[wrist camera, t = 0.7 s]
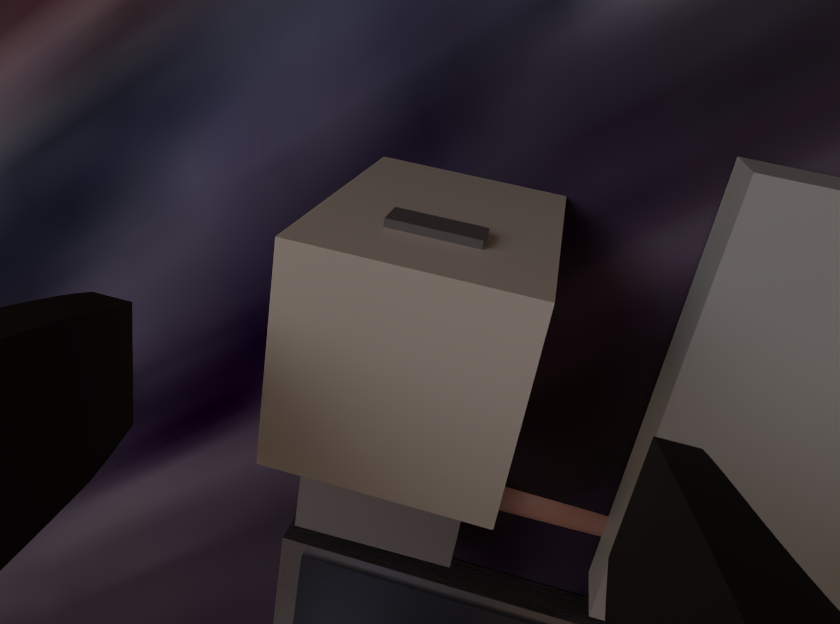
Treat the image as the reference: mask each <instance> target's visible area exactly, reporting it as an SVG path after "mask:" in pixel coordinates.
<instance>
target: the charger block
mask: <svg viewBox="0 0 840 624" xmlns="http://www.w3.org/2000/svg"><path fill="white" fill-rule="evenodd" d="M565 204H566V196H562V195H557V194H553V193H548V192H544V191H539V190H534V189H530V188H525V187H521V186H516V185H512V184H507V183H502V182H498V181H493V180H489V179H484V178H479V177H475V176H470V175H466V174H461V173H457V172H452V171H447V170H443V169H438V168H434V167H429V166H424V165H420V164H415V163H411V162H406V161H402V160H397V159H392V158H388V157H383V158H381V159H380V160H379V161H377V162H376V163H375V164H373V165H372V166H371V167H369V168H368V169H367V170H365V171H364V172H362V173H361V174H360V175H358V176H357V177H356V178H354V179H353V180H352V181H350V182H349V183H348V184H346V185H345V186H343V187H342V188H341V189H339V190H338V191H337V192H335V193H334V194H333V195H331V196H330V197H329V198H327V199H326V200H324V201H323V202H322V203H320V204H319V205H318V206H316V207H315V208H314V209H312V210H311V211H309V212H308V213H307V214H305V215H304V216H303V217H301V218H300V219H299V220H297V221H296V222H295V223H293V224H292V225H290V226H289V227H288V228H286V229H285V230H284V231H282V232H281V233H280V234H278V235H277V236H276V237H275V247H274V259H273V271H272V283H271V295H270V307H269V319H268V331H267V343H266V355H265V367H264V379H263V391H262V403H261V415H260V427H259V439H258V451H257V463H256V464H260V465H263V466H267V467H270V468H274V469H277V470H281V471H285V472H288V473H292V474H295V475H299V476H302V477H306V478H309V479H313V480H317V481H320V482H324V483H327V484H331V485H334V486H338V487H341V488H345V489H349V490H352V491H356V492H359V493H363V494H366V495H370V496H373V497H377V498H381V499H384V500H388V501H391V502H395V503H398V504H402V505H406V506H409V507H413V508H416V509H420V510H423V511H427V512H430V513H434V514H438V515H441V516H445V517H448V518H452V519H455V520H459V521H462V522H466V523H470V524H473V525H477V526H480V527H484V528H487V529H491V530H493V528H494V525H495V521H496V517H497V514H498V510H499V506H500V503H501V499H502V495H503V492H504V488H505V484H506V481H507V477H508V473H509V470H510V466H511V462H512V459H513V455H514V451H515V448H516V444H517V440H518V436H519V433H520V429H521V425H522V422H523V418H524V414H525V411H526V407H527V403H528V400H529V396H530V392H531V389H532V385H533V381H534V378H535V374H536V370H537V367H538V363H539V359H540V356H541V352H542V348H543V345H544V341H545V337H546V334H547V330H548V326H549V322H550V319H551V315H552V311H553V308H554V304H555V296H556V287H557V278H558V269H559V259H560V250H561V241H562V232H563V222H564V213H565Z"/></svg>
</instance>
